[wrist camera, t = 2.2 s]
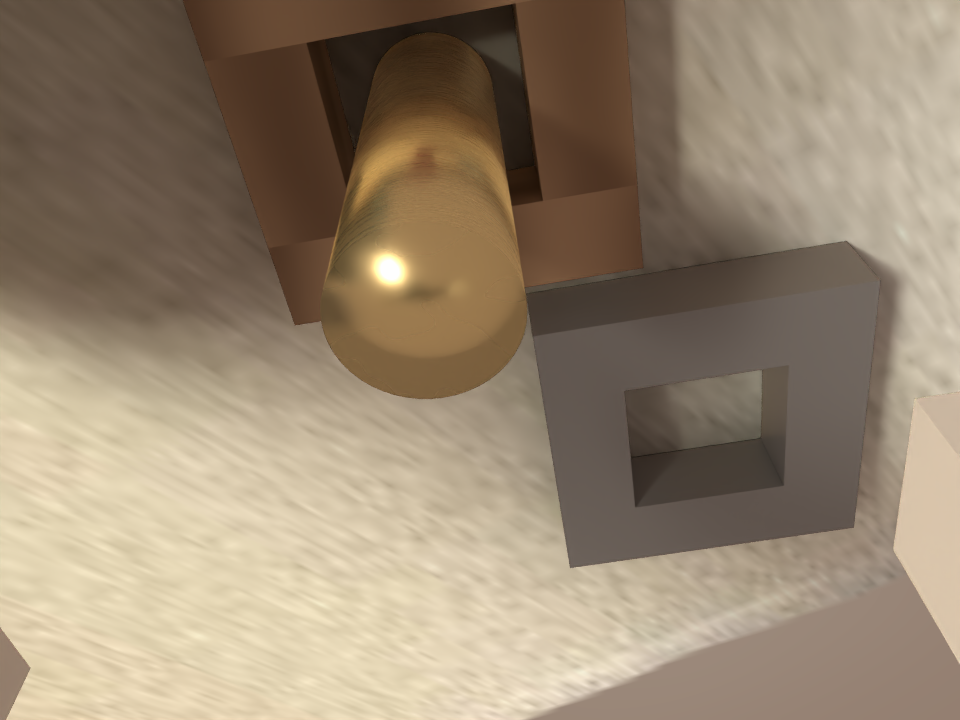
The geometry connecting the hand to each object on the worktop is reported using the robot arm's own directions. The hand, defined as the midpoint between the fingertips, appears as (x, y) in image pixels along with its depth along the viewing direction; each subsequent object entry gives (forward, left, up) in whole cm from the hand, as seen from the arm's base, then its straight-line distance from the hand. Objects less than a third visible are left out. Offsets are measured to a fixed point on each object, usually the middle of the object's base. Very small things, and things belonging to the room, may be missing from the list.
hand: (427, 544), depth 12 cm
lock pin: (0, 0, -20) cm, 20 cm away
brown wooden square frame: (0, 0, -20) cm, 20 cm away
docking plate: (+8, -14, -20) cm, 25 cm away
